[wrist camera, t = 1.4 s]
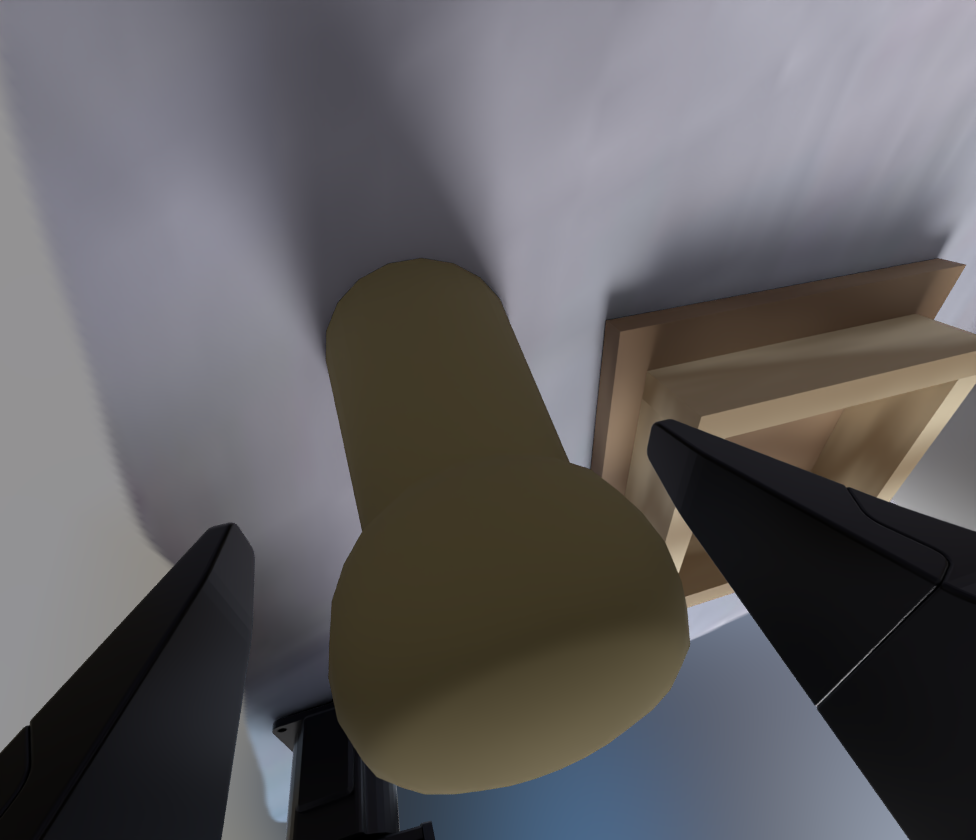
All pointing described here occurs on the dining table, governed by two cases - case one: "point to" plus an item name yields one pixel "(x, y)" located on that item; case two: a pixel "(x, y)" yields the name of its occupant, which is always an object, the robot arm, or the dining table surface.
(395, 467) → the cork
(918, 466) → the cylinder vase
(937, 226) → the dining table surface
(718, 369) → the socket block
